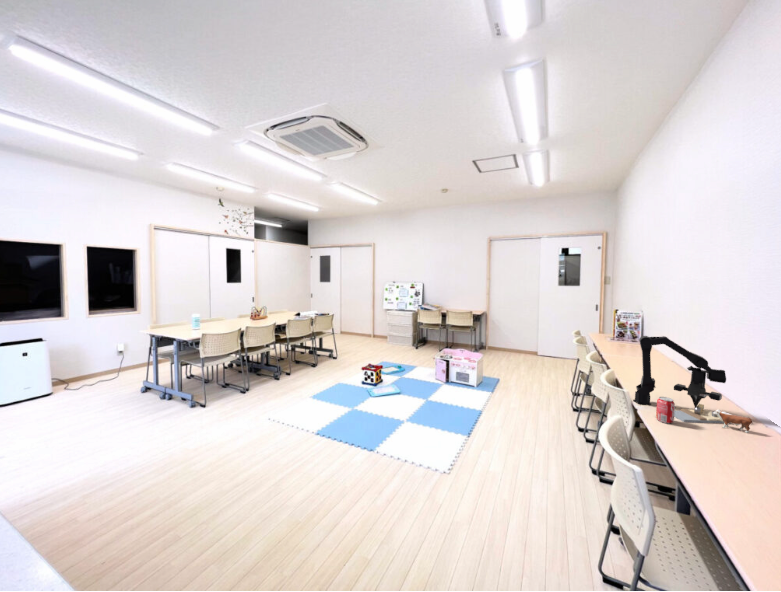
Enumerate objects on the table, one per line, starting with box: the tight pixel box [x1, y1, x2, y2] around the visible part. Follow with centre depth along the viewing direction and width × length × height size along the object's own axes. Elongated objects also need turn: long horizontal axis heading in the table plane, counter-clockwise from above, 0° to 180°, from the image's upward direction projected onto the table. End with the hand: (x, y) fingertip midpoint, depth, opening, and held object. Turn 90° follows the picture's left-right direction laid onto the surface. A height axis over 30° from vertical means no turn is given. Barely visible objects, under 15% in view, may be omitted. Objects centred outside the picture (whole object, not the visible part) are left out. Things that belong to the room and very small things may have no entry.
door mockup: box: [674, 408, 732, 425], centre depth 172 cm, size 23×12×4 cm, turn 87°
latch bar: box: [693, 403, 705, 414], centre depth 175 cm, size 12×2×3 cm, turn 128°
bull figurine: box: [713, 409, 753, 434], centre depth 160 cm, size 4×13×8 cm, turn 44°
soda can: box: [655, 396, 676, 424], centre depth 167 cm, size 7×7×12 cm
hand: (695, 406), depth 179 cm, fingers closed
